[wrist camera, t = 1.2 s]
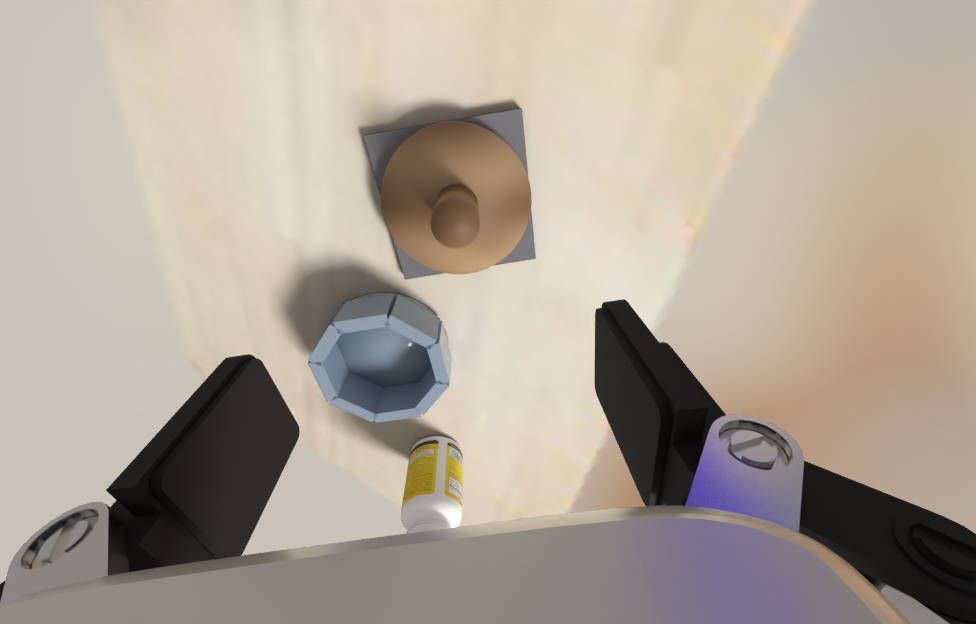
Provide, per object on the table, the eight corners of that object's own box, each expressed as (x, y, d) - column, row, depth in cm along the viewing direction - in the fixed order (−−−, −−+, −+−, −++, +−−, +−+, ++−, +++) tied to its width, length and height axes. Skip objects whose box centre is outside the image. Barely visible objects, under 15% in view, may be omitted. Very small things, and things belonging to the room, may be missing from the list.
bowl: (311, 302, 30) (290, 329, 26) (434, 282, 29) (429, 307, 26) (352, 395, 35) (339, 428, 31) (458, 379, 34) (457, 411, 31)
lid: (363, 135, 23) (338, 144, 19) (521, 108, 23) (535, 111, 18) (404, 279, 28) (393, 313, 24) (535, 258, 28) (548, 289, 23)
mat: (365, 135, 24) (363, 135, 23) (520, 108, 24) (521, 108, 23) (406, 276, 29) (404, 279, 28) (534, 255, 28) (535, 258, 28)
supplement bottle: (404, 463, 39) (387, 563, 31) (419, 428, 37) (404, 526, 29) (453, 473, 41) (449, 572, 32) (470, 440, 38) (471, 538, 30)
